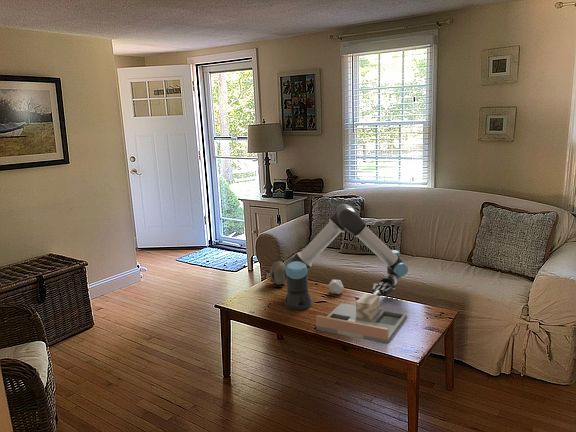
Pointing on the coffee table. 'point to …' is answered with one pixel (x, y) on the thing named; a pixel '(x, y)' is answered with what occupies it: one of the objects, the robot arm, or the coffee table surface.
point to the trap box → (361, 324)
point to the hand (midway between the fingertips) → (374, 297)
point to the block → (367, 306)
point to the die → (335, 286)
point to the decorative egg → (278, 273)
